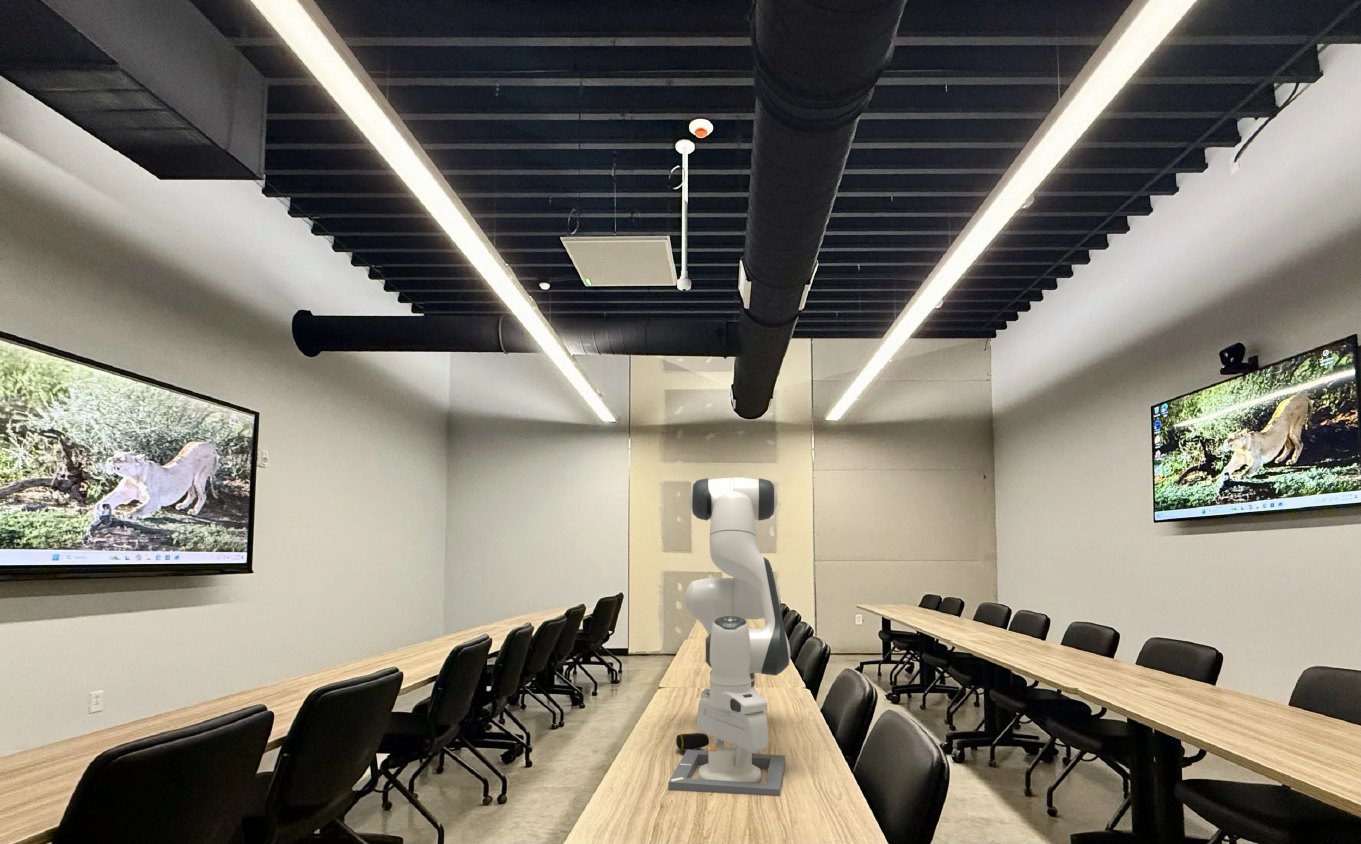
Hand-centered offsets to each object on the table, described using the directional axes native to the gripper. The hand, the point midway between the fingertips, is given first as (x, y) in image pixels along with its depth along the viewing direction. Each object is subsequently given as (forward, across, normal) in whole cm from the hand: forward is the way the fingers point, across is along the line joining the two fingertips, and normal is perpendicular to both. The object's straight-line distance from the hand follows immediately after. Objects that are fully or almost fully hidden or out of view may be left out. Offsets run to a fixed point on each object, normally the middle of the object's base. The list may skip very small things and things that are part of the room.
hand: (730, 763), depth 173 cm
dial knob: (+3, 0, 0) cm, 3 cm away
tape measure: (+3, -19, +7) cm, 20 cm away
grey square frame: (+3, 0, 0) cm, 3 cm away
